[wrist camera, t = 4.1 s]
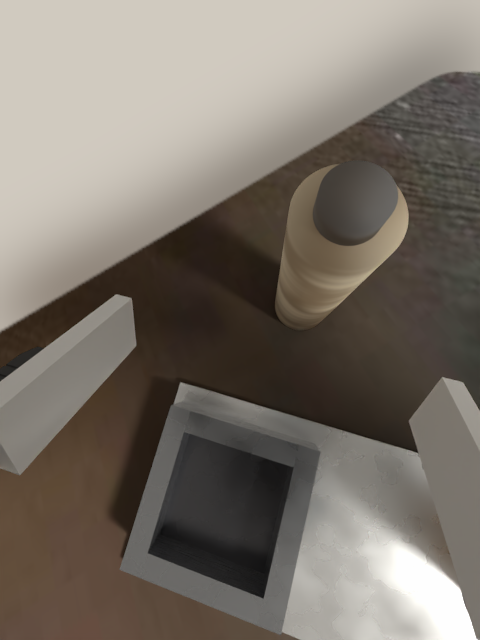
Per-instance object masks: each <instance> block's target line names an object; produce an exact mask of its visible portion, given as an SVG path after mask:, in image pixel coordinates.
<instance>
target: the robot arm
mask: <svg viewBox="0 0 480 640" xmlns="http://www.w3.org/2000/svg"><path fill="white" fill-rule="evenodd" d="M135 347H136V336H135V325H134V315H133V305H132V298H129V297H125V296H121V295H117V294H116V295H115V296H113V297H112V298H111V299H109V300H108V301H107V302H105V303H104V304H103V305H101V306H100V307H99V308H97V309H96V310H95V311H93V312H92V313H91V314H89V315H88V316H87V317H85V318H84V319H83V320H81V321H80V322H79V323H77V324H76V325H75V326H73V327H72V328H71V329H69V330H68V331H67V332H65V333H64V334H63V335H61V336H60V337H59V338H57V339H56V340H55V341H53V342H52V343H51V344H49V345H48V346H47V347H46V348H41V347H36V348H34V349H31V350H29V351H27V352H24V353H22V354H20V355H19V356H17V357H16V358H14V359H13V360H12V361H10V362H9V363H7V365H6V366H3V367H2V368H0V468H1V469H4V470H7V471H9V472H12V473H15V474H18V475H21V474H22V472H23V471H24V470H25V469H26V468H27V467H28V466H29V465H30V464H31V462H32V461H33V460H34V459H35V458H36V457H37V456H38V455H39V454H40V452H41V451H42V450H43V449H44V448H45V447H46V446H47V445H48V444H49V442H50V441H51V440H52V439H53V438H54V437H55V436H56V435H57V434H58V432H59V431H60V430H61V429H62V428H63V427H64V426H65V425H66V423H67V422H68V421H69V420H70V419H71V418H72V417H73V416H74V415H75V413H76V412H77V411H78V410H79V409H80V408H81V407H82V406H83V405H84V403H85V402H86V401H87V400H88V399H89V398H90V397H91V396H92V395H93V393H94V392H95V391H96V390H97V389H98V388H99V387H100V386H101V385H102V383H103V382H104V381H105V380H106V379H107V378H108V377H109V376H110V375H111V373H112V372H113V371H114V370H115V369H116V368H117V367H118V366H119V365H120V363H121V362H122V361H123V360H124V359H125V358H126V357H127V356H128V355H129V353H130V352H131V351H132V350H133V349H134V348H135ZM409 424H410V427H411V430H412V433H413V437H414V440H415V443H416V446H417V450H418V453H419V456H420V459H421V462H422V466H423V469H424V472H425V475H426V479H427V482H428V485H429V488H430V491H431V495H432V498H433V501H434V504H435V508H436V511H437V514H438V517H439V520H440V524H441V527H442V530H443V533H444V537H445V540H446V543H447V546H448V549H449V553H450V556H451V559H452V562H453V566H454V569H455V572H456V575H457V578H458V582H459V585H460V588H461V591H462V595H463V598H464V601H465V604H466V607H467V611H468V614H469V617H470V620H471V624H472V627H473V630H474V633H475V636H476V639H478V640H480V411H479V409H478V407H477V405H476V404H475V402H474V400H473V399H472V397H471V395H470V393H469V392H468V390H467V388H466V387H465V385H464V383H463V382H459V381H456V380H452V379H448V378H444V377H442V378H441V379H440V380H439V382H438V383H437V384H436V386H435V387H434V388H433V390H432V391H431V392H430V394H429V395H428V396H427V397H426V399H425V400H424V401H423V403H422V404H421V405H420V407H419V408H418V409H417V411H416V412H415V413H414V414H413V416H412V417H411V418H410V420H409Z"/></svg>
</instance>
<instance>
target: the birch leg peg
mask: <svg viewBox="0 0 480 640" xmlns="http://www.w3.org/2000/svg"><path fill="white" fill-rule="evenodd" d="M407 227H408V208H407V204H406V201H405V198H404V196H403V194H402V193H401V191H400V190H399V188H398V187H397V186H396V183H395V181H394V179H393V178H392V177H391V175H390V174H389V173H388V172H387V171H386V170H385V169H383V168H382V167H380V166H378V165H376V164H374V163H371V162H367V161H349V162H344V163H342V164H336V165H332V166H328V167H325V168H322V169H320V170H318V171H316V172H314V173H313V174H311V175H310V176H309V177H307V178H306V179H305V180H304V181H303V182H302V183H301V184H300V185H299V187H298V188H297V190H296V191H295V193H294V195H293V197H292V200H291V203H290V208H289V214H288V221H287V227H286V234H285V240H284V247H283V253H282V260H281V266H280V273H279V280H278V286H277V293H276V299H275V311H276V314H277V316H278V318H279V320H280V321H281V322H282V323H283V324H284V325H285V326H287V327H289V328H291V329H294V330H300V331H303V330H309V329H311V328H313V327H315V326H317V325H318V324H319V323H320V322H321V321H322V320H323V319H324V318H325V317H326V316H327V315H328V314H329V313H331V312H332V311H333V310H334V309H335V308H336V307H337V306H338V305H339V304H340V303H341V302H342V301H343V300H344V299H345V298H346V297H347V296H348V295H349V294H350V293H351V292H352V291H353V290H354V289H356V288H357V287H358V286H359V285H360V284H361V283H362V282H363V281H364V280H365V279H366V278H367V277H368V276H369V275H370V274H371V273H372V272H373V271H374V270H375V269H376V268H377V267H378V266H380V265H381V264H382V263H383V262H384V261H385V260H386V259H387V258H388V257H389V256H390V255H391V254H392V253H393V252H394V251H395V250H396V249H397V248H398V246H399V245H400V243H401V242H402V240H403V238H404V236H405V234H406V231H407Z"/></svg>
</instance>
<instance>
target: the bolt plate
mask: <svg viewBox="0 0 480 640" xmlns="http://www.w3.org/2000/svg"><path fill="white" fill-rule="evenodd" d="M120 570H122V571H124V572H127V573H129V574H132V575H134V576H137V577H139V578H141V579H144V580H146V581H149V582H151V583H154V584H156V585H159V586H161V587H164V588H166V589H169V590H171V591H173V592H176V593H178V594H181V595H183V596H186V597H188V598H191V599H193V600H196V601H198V602H201V603H203V604H205V605H208V606H210V607H213V608H215V609H218V610H220V611H223V612H225V613H228V614H230V615H233V616H235V617H237V618H240V619H242V620H245V621H247V622H250V623H252V624H255V625H257V626H260V627H262V628H265V629H267V630H270V631H272V632H274V633H277V634H279V635H281V633H282V632H283V633H286V634H288V635H291V636H293V637H295V638H298V639H300V640H478V639H476V636H475V633H474V630H473V627H472V624H471V620H470V617H469V614H468V611H467V607H466V604H465V601H464V598H463V595H462V591H461V588H460V585H459V582H458V578H457V575H456V572H455V569H454V566H453V562H452V559H451V556H450V553H449V549H448V546H447V543H446V540H445V537H444V533H443V530H442V527H441V524H440V520H439V517H438V514H437V511H436V508H435V504H434V501H433V498H432V495H431V491H430V488H429V485H428V482H427V479H426V475H425V472H424V469H423V466H422V462H421V459H420V456H419V453H418V452H414V451H411V450H408V449H404V448H401V447H398V446H394V445H391V444H388V443H384V442H381V441H377V440H374V439H371V438H367V437H364V436H361V435H357V434H354V433H351V432H347V431H344V430H341V429H337V428H334V427H331V426H327V425H324V424H321V423H317V422H314V421H311V420H307V419H304V418H301V417H297V416H294V415H291V414H287V413H284V412H281V411H277V410H274V409H271V408H267V407H264V406H261V405H257V404H254V403H251V402H247V401H244V400H241V399H237V398H234V397H231V396H227V395H224V394H221V393H217V392H214V391H211V390H207V389H204V388H201V387H197V386H194V385H191V384H187V383H184V382H180V385H179V388H178V392H177V395H176V398H175V401H174V404H172V405H171V407H170V410H169V413H168V416H167V420H166V423H165V426H164V429H163V432H162V436H161V439H160V442H159V445H158V448H157V452H156V455H155V458H154V461H153V464H152V468H151V471H150V474H149V477H148V480H147V484H146V487H145V490H144V493H143V496H142V500H141V503H140V506H139V509H138V512H137V516H136V519H135V522H134V525H133V528H132V532H131V535H130V538H129V541H128V544H127V548H126V551H125V554H124V557H123V560H122V564H121V567H120Z"/></svg>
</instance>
